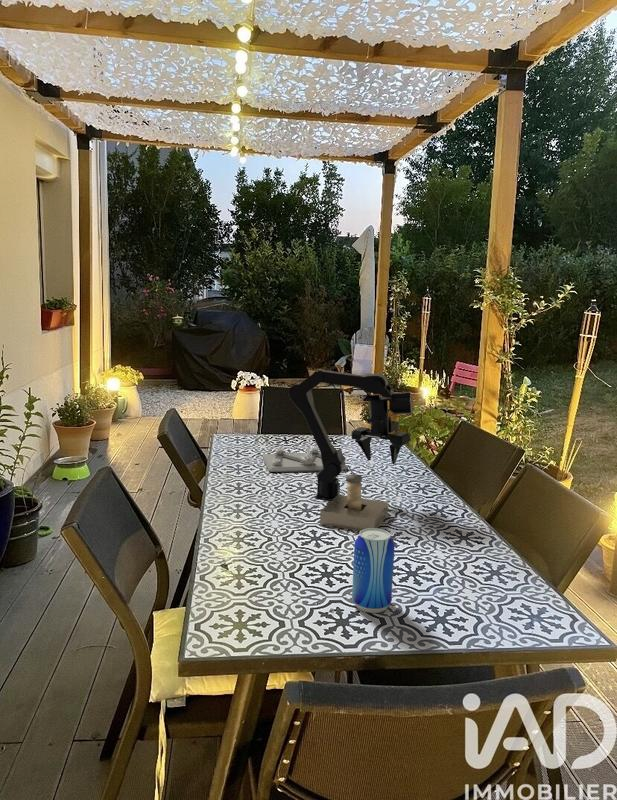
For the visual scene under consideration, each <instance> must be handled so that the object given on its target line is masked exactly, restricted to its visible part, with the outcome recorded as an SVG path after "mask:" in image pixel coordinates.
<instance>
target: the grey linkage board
mask: <svg viewBox="0 0 617 800" xmlns="http://www.w3.org/2000/svg"><path fill="white" fill-rule="evenodd" d="M261 458H262V460H263V462H264V464H265V466H266V467H267V469H268V471H269V472H270V473H271V472H282V473H304V472H305V473H308V472H310V473H312V472H314V473H315V472H317V473H318V472H320V471H321V470H322V469H323V464H322V459H321V452H320V450H319V448H318V446H312V447H311V448H310V449H309V452H297V453H296V452H294V453H293V452H292V453H290V452H288V453H287V450H285V448H284V447H282V446H279V447H276V449H275V450H274V453H264V454H262V456H261ZM348 469H349V467H348V466H347V465H346V464H345V467H344V469H343V471H347V470H348ZM343 471H342V472H343Z"/></svg>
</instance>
